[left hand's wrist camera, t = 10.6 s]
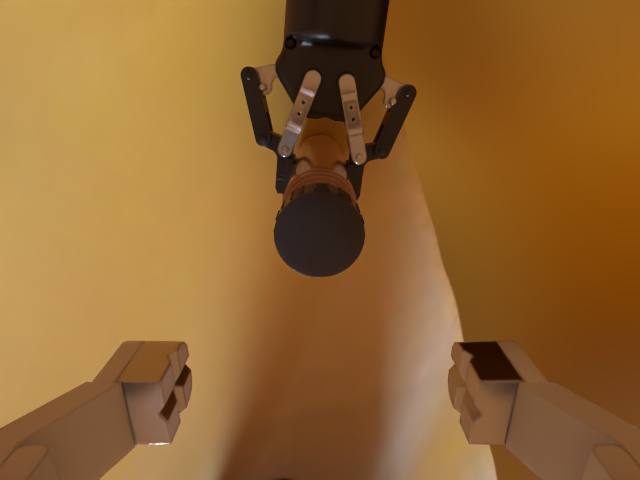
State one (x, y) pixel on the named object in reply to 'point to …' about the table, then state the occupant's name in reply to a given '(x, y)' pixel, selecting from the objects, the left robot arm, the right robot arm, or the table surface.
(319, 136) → the bottle
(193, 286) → the table surface
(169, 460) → the table surface
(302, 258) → the cap
